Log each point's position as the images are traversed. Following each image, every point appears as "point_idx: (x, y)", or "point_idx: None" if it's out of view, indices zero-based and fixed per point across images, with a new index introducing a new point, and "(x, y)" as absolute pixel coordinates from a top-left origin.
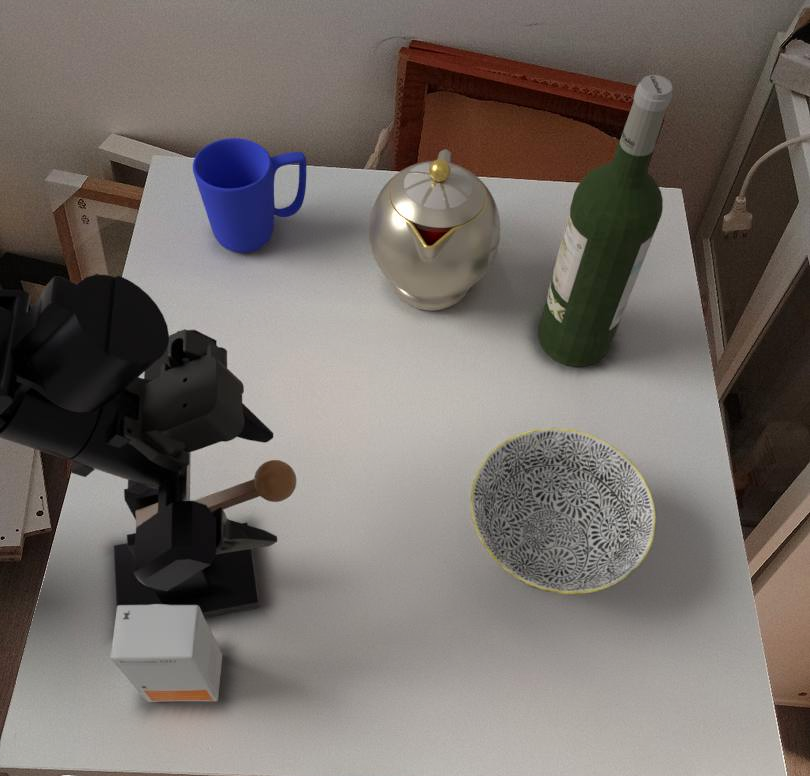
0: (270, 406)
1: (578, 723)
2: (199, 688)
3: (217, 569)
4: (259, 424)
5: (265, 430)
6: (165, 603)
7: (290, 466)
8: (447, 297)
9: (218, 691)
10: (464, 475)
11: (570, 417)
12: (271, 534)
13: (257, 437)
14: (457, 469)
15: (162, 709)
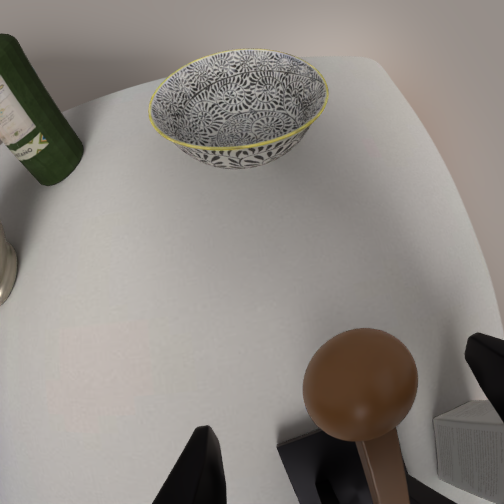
0: (107, 435)
1: (387, 122)
2: None
3: (347, 461)
4: (191, 465)
5: (201, 446)
6: None
7: (321, 351)
8: (8, 254)
9: (466, 403)
10: (177, 214)
11: (123, 149)
12: (483, 342)
13: (218, 463)
14: (171, 222)
15: None
